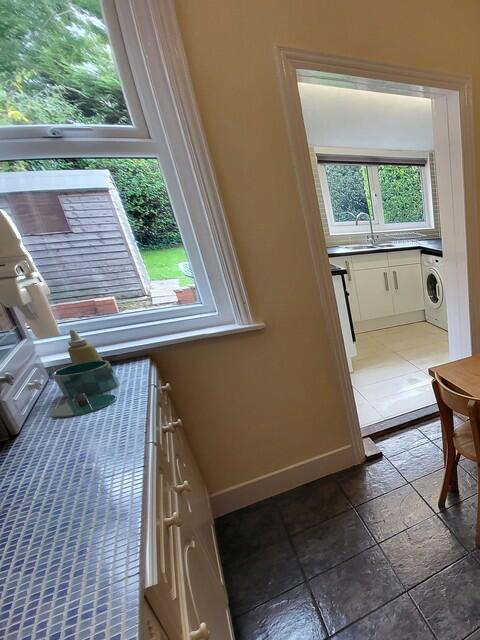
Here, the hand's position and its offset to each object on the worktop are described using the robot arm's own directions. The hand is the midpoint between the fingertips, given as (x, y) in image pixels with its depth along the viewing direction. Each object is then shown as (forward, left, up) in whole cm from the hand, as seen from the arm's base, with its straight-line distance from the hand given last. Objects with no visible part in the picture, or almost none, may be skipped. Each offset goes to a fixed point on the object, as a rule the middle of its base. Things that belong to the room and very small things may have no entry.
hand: (38, 316), depth 118 cm
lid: (+3, -8, -27) cm, 28 cm away
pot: (+1, +8, -27) cm, 28 cm away
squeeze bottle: (-2, +24, -28) cm, 37 cm away
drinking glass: (0, 0, -6) cm, 6 cm away
